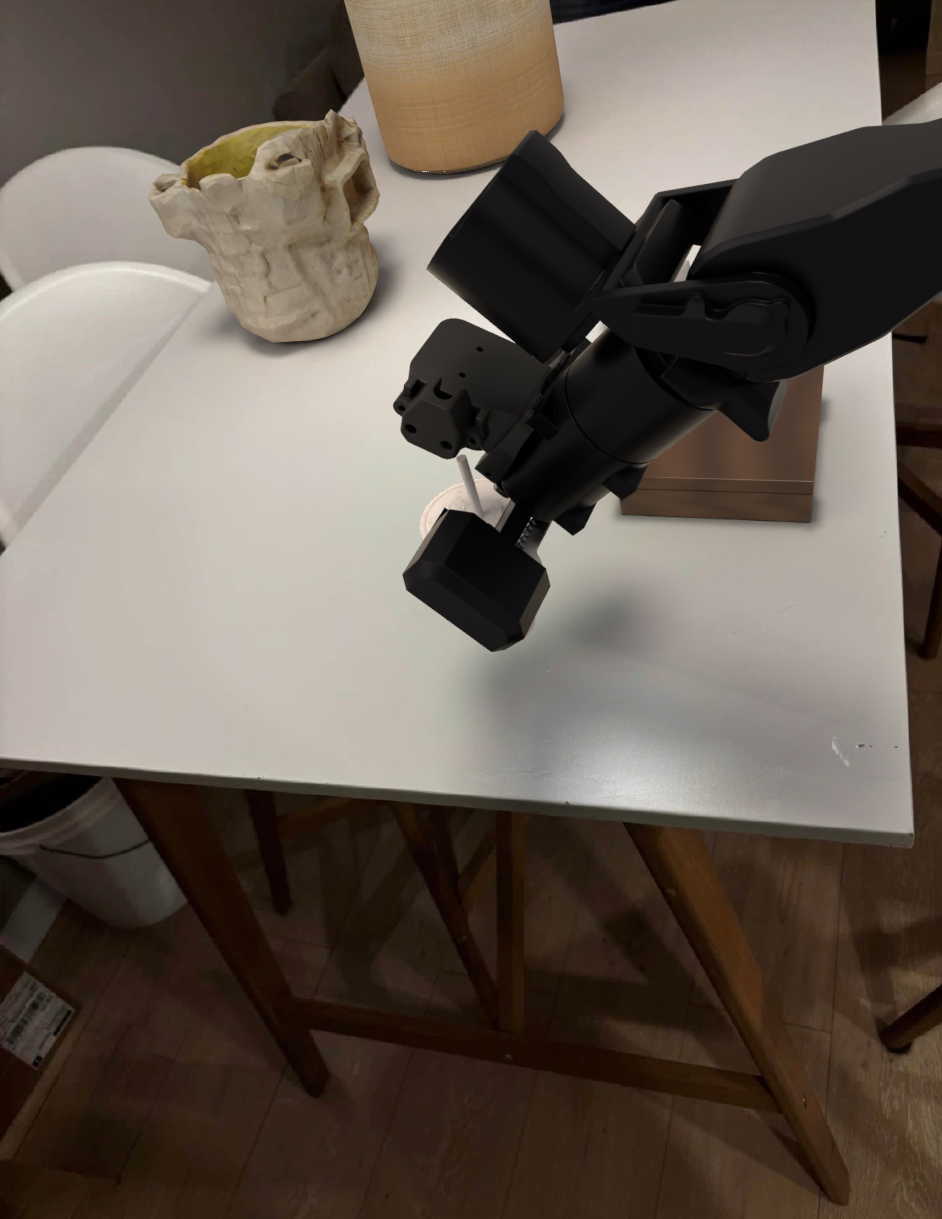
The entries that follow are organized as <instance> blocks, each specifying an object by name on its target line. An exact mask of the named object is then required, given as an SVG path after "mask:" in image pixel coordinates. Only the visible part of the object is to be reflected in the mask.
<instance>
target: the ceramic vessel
mask: <svg viewBox="0 0 942 1219" xmlns="http://www.w3.org/2000/svg"><path fill="white" fill-rule="evenodd" d="M363 136H364V131H363V129H362V128H361V127H360V126H358V123H357V120H356V119H355V117H354V116H349V117H348V116H340V115H339V113H337V112H336V111H334V110H333V109H330V110H329V111H328V112H326V114H325V117H324V119H323V120H279V121H270V122H264V123H260V124H251V125H248V126H246V127H242V128H240V129H237V130H235V131H233V132H230V133H228V134H224V135H221V136H219V137H218V138H217V139H216V140H215V141H213V142H212V143H211V144H209V145H206V146H203V147H202V148H200V149H199V150H198V151H197V152H195V154H193V155H192V156H190V157H188V158H187V159H185V160H184V161H183V162H182V163H181V164H180V165H179V171H178V172H176V173H163V174H160V175H159V176H158V177H156V179H155V180H154V181H152V182H151V184H149V186H148V187H149V192H148V201H149V204H150V205H151V207H152V209H153V211H154V212H155V213H156V215H157V217H158V218H159V221H160V223H161V224H162V226H163V228H164V231H165V232H166V234H167V235H168V236H170V237H172V238H174V239H182V240H188V241H193V242H196V243H197V244H198V245H200V246H201V247H203V248H204V249H205V250H206V252H207V254H208V258H209V261H210V265H211V268H212V270H213V273H214V277H215V282H216V283H217V285H218V288H219V290H221V293H222V296H223V298H224V301H225V304H226V306H227V308H228V310H229V311H230V312H231V313H232V314H233V315H234V317H235V318H236V319H237V320H238V322H239V324H240V326H241V327H242V328H244V329H245V330H247V331H249V332H250V333H252V334H254V335H256V336H257V337H260V338H262V339H264V340H267V341H269V342H271V343H274V344H275V343H286V342H302V341H303V342H305V341H313V340H318V339H325V338H328V337H330V336H333V335H335V334H337V333H339V332H341V331H343V330H345V329H346V328H347V327H349V326H350V325H351V324H353V323H354V322H355V321H356V320H357V319H358V318H360V317H361V316H362V314H363V312H364V311H365V310H366V308H367V307H368V304H369V303H370V301H371V298H372V297H373V294H374V291H375V289H376V285H377V283H378V280H379V279H378V278H379V260H378V252H377V250H376V249H375V246H374V245H373V243H372V242H371V240H370V233H369V230H368V228H367V226H366V225H365V222H366V221H367V220H368V219H369V218H370V217H371V216H372V215H373V214H374V213H375V211H376V210H377V208H378V205H379V202H380V200H379V199H380V197H381V193H380V191H379V189H378V186H377V181H376V178H375V175H374V173H373V169H372V165H371V160H370V154H369V152H368V148H367V143H366V140H365V139H364V137H363Z"/></svg>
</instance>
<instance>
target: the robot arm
mask: <svg viewBox="0 0 942 1219" xmlns="http://www.w3.org/2000/svg"><path fill="white" fill-rule="evenodd" d="M693 246H698V247H699V249H698V251H697V253H696V255H695V256H694V259H693V261H692V263H691V264H690V268H689V270H688V273H687V276H686V279H685V281H678V282H674V281H675V279H676V277H677V275H678V273H679V271H680V270H681V268H682V266H683V264H684V262H685V261H687V258H688V256H689V254H690V252H691V250H692V249H693ZM431 257H432V258H431V259H430V261H429V262H428V264H427V267H426V271H427V272H428V273H429V274H431V275H432V276H433V277H434V278H436V279H437V280H439V282H440V283H442V284H443V285H444V286H446V287H447V288H448V289H449V290H450V291H451V292H453V293H454V294H455V295H457V296H458V297H459V298H460V299H461V300H463V301H464V302H465V303H466V304H467V305H468V306H470V307H471V308H472V309H473V310H474V311H476V312H477V313H478V314H479V315H481V316H482V317H483V318H485V319H486V320H487V321H488V322H489V323H491V324H492V325H493V326H494V327H495V328H496V329H497V330H499V331H500V332H502V333H503V334H504V335H505V336H506V337H507V338H505V337H502V336H500V335H498V334H496V333H494V332H492V331H489V330H488V329H485V328H483V327H481V326H479V325H476V324H474V323H471V322H469V321H467V320H464V319H462V318H458V317H450V318H446V319H443V320H442V321H440V322H439V323H438V324H437V326H436V327H435V328H434V329H433V331H432V332H431V334H430V335H429V336H428V337H427V339H426V340H425V342H424V343H423V344H422V346H420V348H419V349H418V351H417V352H416V354H415V355H414V356H413V358H412V359H411V361H410V363H409V369H408V377H407V380H406V381H405V382H404V384H403V389H402V391H401V392H400V393H399V395H397V397H396V398H395V400H394V401H393V403H392V408H393V410H394V412H395V413H396V414H397V415H399V416H400V417H401V421H400V430H399V431H400V433H401V435H402V437H403V438H404V439H405V441H406V442H408V443H409V444H411V445H413V446H415V447H417V448H419V449H422V450H424V451H426V452H428V453H430V454H433V455H435V456H437V457H439V458H441V459H443V460H452V459H455V458H457V457H458V456H459V453H460V451H461V450H463V449H468V450H470V451H476V452H482V451H483V452H484V453H483V454H482V455H481V457H480V458H479V460H478V461H477V463H476V465H475V467H474V470H475V471H477V472H478V473H479V474H481V475H482V476H483V478H487V479H488V480H490V481H491V482H492V483H494V485H493V488H494V490H495V491H496V492H497V493H498V494H500V495H501V496H502V497H504V498H507V499H508V498H510V499H511V500H510V502H509V503H508V505H507V507H506V509H505V510H504V512H503V514H502V516H501V517H500V519H499V521H498V523H497V524H496V526H495V527H493V526H492V525H491V524H489V523H487V522H485V521H484V520H483V519H481V518H480V517H479V516H477V515H476V514H475V513H473V512H466V511H459V510H452V509H449V510H448V509H446V508H444V509H443V511H442V512H441V514H440V515H439V517H438V519H437V520H436V522H435V523H434V525H433V527H432V528H431V530H430V531H429V533H428V534H427V536H426V537H425V539H424V540H422V542H421V544H420V545H419V547H418V548H417V550H416V551H415V553H414V555H413V556H412V558H411V559H410V561H409V562H408V564H407V566H406V567H405V569H404V570H403V572H402V574H401V575H402V579H403V583H404V587H405V591H407V592H408V593H409V594H411V595H412V596H413V597H415V598H416V599H418V600H419V601H420V602H421V603H423V604H424V605H425V606H427V607H429V608H430V609H431V610H433V611H434V612H435V613H437V614H438V615H440V616H441V617H442V618H443V619H445V620H447V621H448V622H449V623H450V624H452V625H453V626H454V627H456V628H457V629H458V630H460V631H461V632H462V633H464V634H465V635H467V636H468V637H470V638H471V639H473V640H474V641H475V642H477V643H478V644H479V645H481V646H482V647H483V648H485V649H486V650H487V651H489V652H491V653H496V652H501V651H507V649H509V648H511V647H513V646H514V645H516V644H518V643H520V642H521V641H523V640H524V639H525V638H526V637H527V636H526V634H527V632H528V630H529V628H530V626H531V624H532V622H533V620H534V618H535V619H536V616H537V614H538V613H539V610H540V609H541V607H542V605H543V602H544V601H545V598H546V597H547V594H548V592H549V590H550V588H551V582H550V578H549V574H548V571H547V570H548V569H547V567H545V565H543V563H542V559H541V557H540V555H539V554H538V549H539V548H540V546H541V543H542V542H543V540H544V538H545V536H546V534H547V533H548V530H549V528H550V527H551V525H552V523H553V522H554V523H556V524H557V525H558V526H559V527H560V528H561V529H563V530H564V531H566V532H567V533H568V534H569V535H571V536H572V537H574V536H576V535H577V534H578V533H580V532H581V531H582V530H584V529H585V528H586V526H587V524H588V521H589V520H590V517H591V515H592V513H593V511H594V510H595V508H596V505H597V503H598V502H599V501H600V500H602V499H603V498H604V497H606V496H607V495H609V494H610V493H612V494H613V495H614V496H615V497H616V498H618V499H621V500H622V501H623V500H624V499H626V498H627V497H629V496H630V495H631V494H633V493H634V492H636V490H637V488H638V485H639V483H640V481H641V479H642V477H643V475H644V473H645V470H646V468H647V466H648V464H649V463H650V462H652V461H653V460H654V459H656V458H657V457H658V456H660V455H661V454H662V453H664V452H665V451H666V450H668V449H669V448H670V447H672V446H673V445H674V444H676V443H677V442H679V441H680V440H681V439H683V438H684V437H685V436H687V435H688V434H689V433H691V432H692V431H693V430H695V429H696V428H697V427H699V426H700V425H701V424H703V423H704V422H706V421H707V420H708V419H710V418H711V417H712V416H714V415H715V414H716V413H718V412H721V413H722V414H723V415H725V416H726V417H727V418H728V419H729V420H731V421H732V422H733V423H734V424H735V425H736V426H737V427H739V428H740V429H741V430H742V431H743V432H744V433H746V434H747V435H748V436H749V437H750V438H751V439H753V440H754V441H756V442H765V441H766V440H768V439H769V437H770V435H771V432H772V429H773V426H774V424H775V421H776V418H777V415H778V413H779V410H780V407H781V404H782V402H783V399H784V396H785V393H786V391H787V388H788V384H787V380H790V379H795V378H798V377H800V376H803V375H805V374H808V373H810V372H812V371H814V370H816V369H818V368H820V367H822V366H824V367H825V366H827V365H829V364H831V363H833V362H835V361H837V360H840V359H841V358H843V357H845V356H848V355H850V354H852V353H854V352H856V351H858V350H860V349H862V348H864V347H866V346H869V345H871V344H872V343H874V342H877V341H879V340H880V339H883V338H884V337H886V336H887V335H888V334H890V333H891V332H893V331H894V330H895V329H897V328H898V327H899V326H901V325H902V324H903V323H904V322H906V321H908V320H909V319H910V318H911V317H913V316H914V315H916V314H917V313H918V312H919V311H921V310H922V309H924V307H926V306H927V305H928V304H930V303H931V302H933V301H934V300H936V298H938V297H940V295H942V117H939V118H937V119H932V120H929V121H924V122H918V123H917V122H916V123H900V124H883V125H866V126H861V127H856V128H854V129H850V130H847V131H844V132H840V133H837V134H834V135H831V136H826V137H824V138H820V139H817V140H813V141H811V142H807V143H804V144H800V145H798V146H794V147H791V148H787V149H784V150H781V151H777V152H775V153H773V154H770V155H767V156H765V157H763V158H762V159H760V160H759V161H758V162H756V163H755V164H753V165H752V166H750V167H749V168H748V169H746V170H745V171H743V173H742V174H741V175H740V176H739V177H738V178H737V177H736V178H731V179H726V180H720V181H715V182H708V183H702V184H697V185H690V186H685V187H680V188H674V189H668V190H662V191H658V192H656V193H655V194H654V195H653V197H652V198H651V200H650V202H649V203H648V205H647V206H646V208H645V210H644V212H643V213H642V215H641V216H640V217H639V218H638V219H637V220H636V221H635V223H634V222H633V221H632V220H631V219H630V218H629V217H627V216H626V215H625V214H624V213H623V212H622V211H621V210H619V209H618V208H617V207H616V206H615V205H614V204H613V203H612V202H610V201H609V200H608V199H607V198H606V197H605V196H604V195H603V194H602V193H600V192H599V191H598V189H596V188H595V187H594V186H593V185H591V184H590V183H589V182H588V180H586V179H585V178H583V176H582V175H580V174H579V173H578V172H577V171H576V170H575V169H574V168H573V167H572V165H571V164H570V163H569V161H568V160H567V159H566V157H565V156H564V155H563V153H562V152H561V151H560V150H559V149H558V148H557V147H556V146H555V145H554V144H553V143H552V142H551V141H549V140H548V139H547V138H546V136H545V137H544V136H543V135H542V134H541V133H539V132H538V131H537V130H530V131H529V132H528V133H527V134H526V136H525V137H524V138H523V139H522V141H521V142H520V143H519V144H518V146H517V147H516V148H515V149H514V150H513V152H512V153H511V154H510V156H509V157H508V159H506V160H505V161H504V163H503V165H502V166H501V167H500V168H499V169H498V170H497V172H496V173H495V174H494V176H493V177H492V178H491V180H489V182H488V183H487V185H486V186H485V187H484V188H483V189H482V190H481V192H480V193H479V194H478V196H476V198H475V199H474V200H473V202H472V203H471V204H470V206H468V208H467V209H466V211H464V212H463V214H462V216H461V217H459V219H458V220H457V221H456V223H455V224H454V225H453V227H451V229H450V230H449V232H448V233H447V234H446V236H445V237H444V238H443V240H442V242H441V243H440V245H439V246H438V247H437V249H436V251H435V253H434V254H433V256H431ZM599 323H602V324H603V325H604V326H606V328H605V329H604V330H603V331H602V332H601V333H600V334H599V335H598V336H597V337H596V338H595V339H594V340H593V341H591V340H589V338H587V336H588V335H589V334H590V333H592V331H593V330H594V329H595V327H596V326H597V325H598V324H599ZM509 339H510V340H509ZM530 519H531V520H530ZM528 522H529V524H528ZM527 524H528V525H527ZM525 528H526V530H525ZM524 530H525V531H524ZM522 533H523V535H522ZM521 535H522V536H521ZM519 539H520V540H521V541H519ZM518 541H519V542H518ZM525 636H526V637H525Z"/></svg>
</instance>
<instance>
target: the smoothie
mask: <svg viewBox="0 0 942 1219" xmlns="http://www.w3.org/2000/svg"><path fill="white" fill-rule="evenodd" d="M455 458H456V464H457V466H458V469H459V472H460V475H461V478H462V481H461V482H458V483H455V484H452V485H451V486H448V487H447V488H446V489H444V490H442V491H441V492H439V493H438V494H437V495H436V496H434V497H433V499H431V500H430V501H429V502H428V504H427V505H426V507H425V508H424V510H423V512H422V514H421V515H420V520H419V533H420V536H421V540H422V541H423V540H424V539H425V537H426V536H427V534H428V533H429V531H430V530H431V528H432V527H433V525H434V523H435V522H436V520H437V519H438V517H439V515H440V514H441V512H442V511H443V509H444V508H446V509H448V510H449V509H452V510H459V511H466V512H473V513H475V514H476V515H477V516H479V517H480V518H481V519H483V520H484V521H485V522H487V523H489V524H491V525H492V526H493V527H495V526H496V524H497V523H498V521H499V519H500V517H501V516H502V514H503V512H504V510H505V509H506V507H507V505H508V503H509V502H510V500H511V499H510V498H508V499H507V498H504V497H502V496H501V495H500V494H498V493H497V492H496V491H495V490H494V488H493V485H494V483H492V482H491V481H490V480H488V479H487V478H486V477H478V478H474V477H473V474H472V470H471V467H470V462H469V460H468V457H467V455H466V454H463V453H462V454H458V455H457V456H456V457H455ZM531 519H532V518H531ZM531 519H530V520H531ZM528 524H529V522H528ZM528 524H527V525H528ZM525 530H526V528H525ZM525 530H524V531H525ZM522 535H523V533H522ZM522 535H521V536H522ZM519 541H521V540H520V539H519ZM519 541H518V542H519ZM535 624H536V617H535V618H534V620H533V622H532V624H531V626H530V628H529V630H528V632H527V634H526V636H525V638H526V637H528V635H530V634H531V632H532V631H533V629H534V627H535Z"/></svg>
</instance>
